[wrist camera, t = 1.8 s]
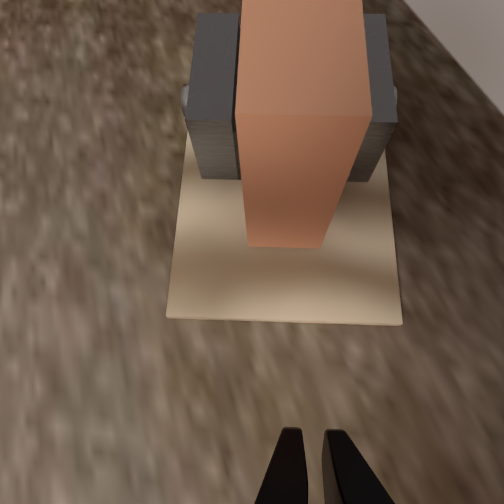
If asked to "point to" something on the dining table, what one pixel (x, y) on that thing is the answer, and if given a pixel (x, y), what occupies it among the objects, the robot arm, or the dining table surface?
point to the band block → (225, 87)
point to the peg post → (299, 114)
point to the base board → (283, 259)
